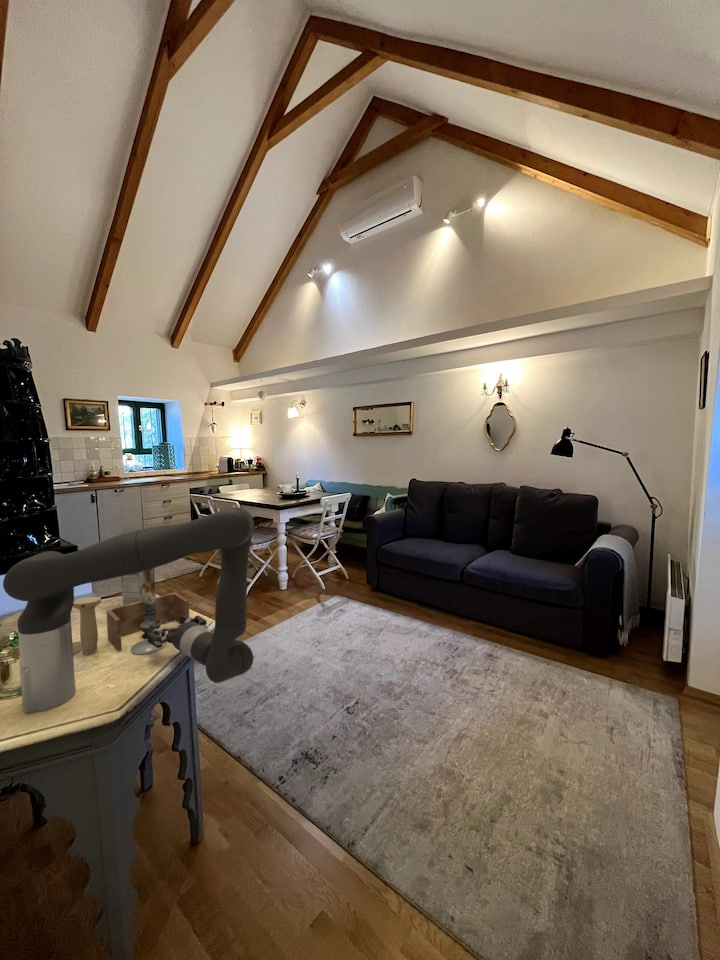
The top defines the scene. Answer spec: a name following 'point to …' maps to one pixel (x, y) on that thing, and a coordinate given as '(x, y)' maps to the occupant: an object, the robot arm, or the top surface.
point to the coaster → (145, 648)
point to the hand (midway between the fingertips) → (166, 623)
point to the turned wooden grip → (88, 623)
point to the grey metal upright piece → (149, 618)
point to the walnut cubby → (143, 616)
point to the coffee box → (138, 586)
